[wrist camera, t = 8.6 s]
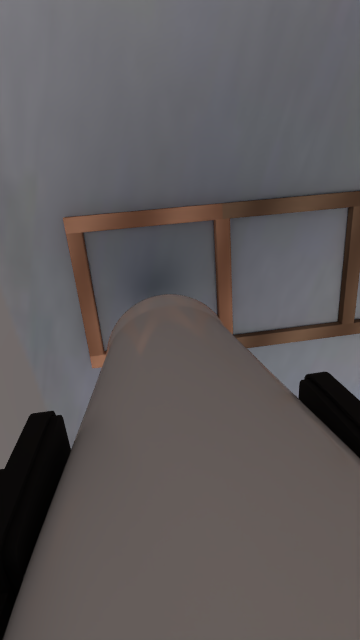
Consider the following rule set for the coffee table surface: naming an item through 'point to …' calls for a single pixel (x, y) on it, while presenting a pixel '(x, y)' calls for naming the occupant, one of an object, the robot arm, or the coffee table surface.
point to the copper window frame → (223, 261)
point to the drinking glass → (195, 500)
